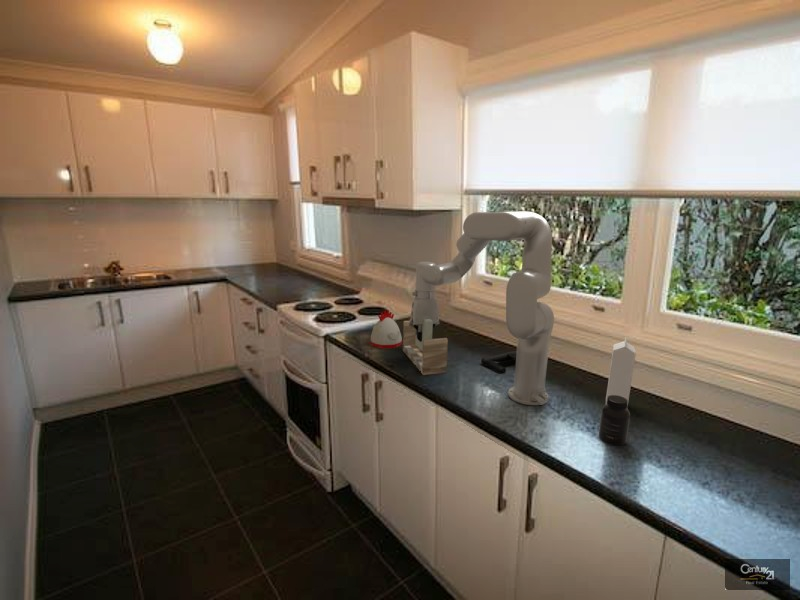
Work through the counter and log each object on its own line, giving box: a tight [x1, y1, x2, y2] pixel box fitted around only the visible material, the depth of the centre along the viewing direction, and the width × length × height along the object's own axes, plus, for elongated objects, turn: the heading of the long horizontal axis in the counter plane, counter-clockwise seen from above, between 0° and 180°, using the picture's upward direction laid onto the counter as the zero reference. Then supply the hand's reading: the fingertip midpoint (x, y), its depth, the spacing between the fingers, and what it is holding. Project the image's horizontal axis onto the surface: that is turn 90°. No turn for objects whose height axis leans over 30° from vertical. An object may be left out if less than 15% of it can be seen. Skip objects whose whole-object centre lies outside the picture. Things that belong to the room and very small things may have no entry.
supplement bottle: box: [598, 395, 631, 447], centre depth 113 cm, size 7×7×12 cm
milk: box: [605, 336, 637, 408], centre depth 131 cm, size 6×6×22 cm
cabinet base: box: [402, 320, 449, 376], centre depth 166 cm, size 26×9×13 cm, turn 16°
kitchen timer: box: [370, 309, 403, 349], centre depth 186 cm, size 14×14×15 cm
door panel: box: [415, 319, 434, 351], centre depth 165 cm, size 12×3×13 cm, turn 16°
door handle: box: [480, 349, 517, 374], centre depth 164 cm, size 3×20×16 cm
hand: (423, 339), depth 166 cm, fingers closed on door panel, 2 cm apart
